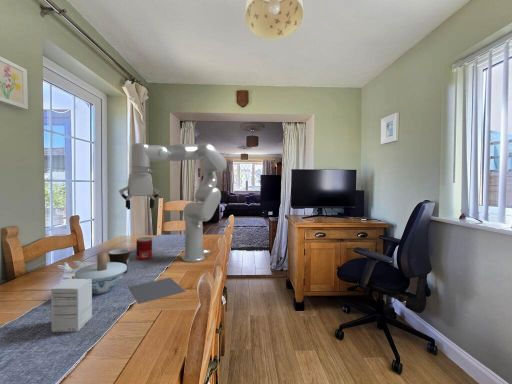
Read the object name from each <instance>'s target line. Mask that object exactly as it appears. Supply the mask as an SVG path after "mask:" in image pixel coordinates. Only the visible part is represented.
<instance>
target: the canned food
mask: <svg viewBox="0 0 512 384" xmlns="http://www.w3.org/2000/svg"><path fill="white" fill-rule="evenodd" d="M135 245H136V248H135V249H136V250H135V252H136V253H135V254H136V260H138V261H146V260H150V259H151V258H152V256H153V238H152V237H150V236H143V237H137V238H136V243H135Z"/></svg>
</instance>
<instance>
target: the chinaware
mask: <svg viewBox="0 0 512 384" xmlns="http://www.w3.org/2000/svg"><path fill="white" fill-rule="evenodd" d="M124 275H125V274H124V273H122V274H120V275H118V276H115V277H112V278H107V279H102V280H92V294H97V295H99V294H105V293H108V292H110V291H112V290H113V288H114V289H115V287H116V286H118V284H119V283H120V282H121V280H122V278H123V276H124Z"/></svg>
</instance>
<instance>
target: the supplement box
mask: <svg viewBox="0 0 512 384" xmlns="http://www.w3.org/2000/svg"><path fill="white" fill-rule="evenodd" d="M92 296H93V293H92V279H77V278H67V279H65V280H64V281H62V282H61V283H58V284H57V285H55V286H53V287H51V289H50V297H51V298H50V305H51V308H50V309H51V310H50V311H51V318H50V319H51V332H52V333H62V332H63V333H64V332H65V333H66V332H79V331H80V330H81V329H82V328H83V327H84V326H85V325H87V323H88V321H90V319H92V317H93V297H92Z"/></svg>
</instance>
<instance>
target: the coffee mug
mask: <svg viewBox="0 0 512 384" xmlns="http://www.w3.org/2000/svg"><path fill="white" fill-rule="evenodd" d="M130 252H131V251H130V249H127V248H117V249H113V250H109V251H108V257H109V258H108V259H109V262H118V263H123V264H126V265H127V270H126V271H125V272H124V274H123V275H125V274H126V273H128V268H129V262H130V261H129V260H130Z"/></svg>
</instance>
